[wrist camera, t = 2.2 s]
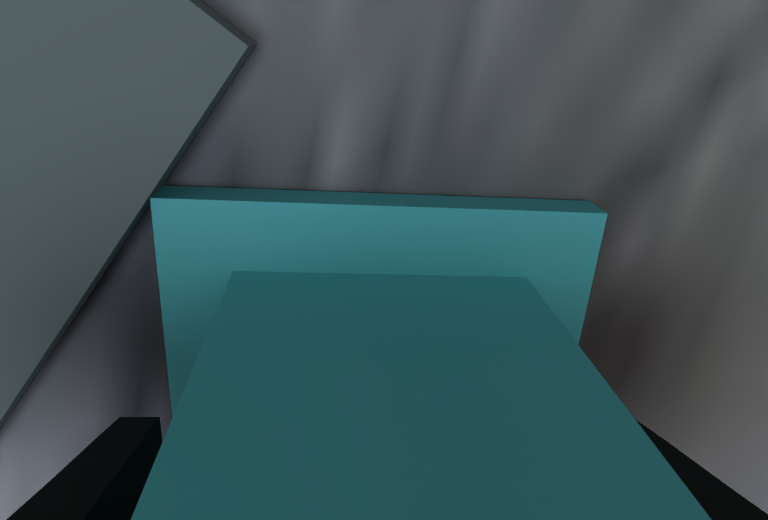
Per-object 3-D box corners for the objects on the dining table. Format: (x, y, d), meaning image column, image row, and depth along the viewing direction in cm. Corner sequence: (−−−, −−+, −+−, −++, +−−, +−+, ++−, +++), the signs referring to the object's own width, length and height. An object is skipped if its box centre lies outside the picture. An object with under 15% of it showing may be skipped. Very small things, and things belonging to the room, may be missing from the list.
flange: (589, 200, 11) (931, 437, 5) (524, 510, 14) (679, 904, 8) (163, 185, 10) (-113, 445, 4) (193, 517, 13) (67, 963, 7)
